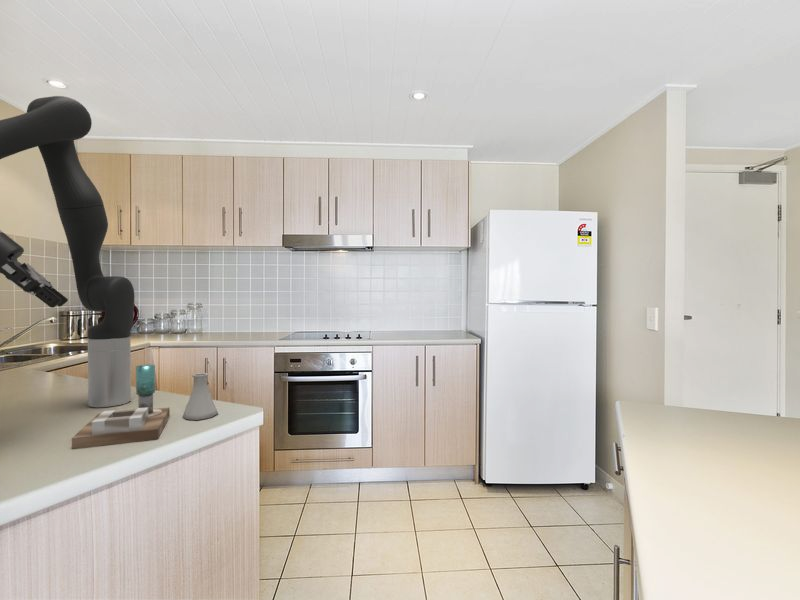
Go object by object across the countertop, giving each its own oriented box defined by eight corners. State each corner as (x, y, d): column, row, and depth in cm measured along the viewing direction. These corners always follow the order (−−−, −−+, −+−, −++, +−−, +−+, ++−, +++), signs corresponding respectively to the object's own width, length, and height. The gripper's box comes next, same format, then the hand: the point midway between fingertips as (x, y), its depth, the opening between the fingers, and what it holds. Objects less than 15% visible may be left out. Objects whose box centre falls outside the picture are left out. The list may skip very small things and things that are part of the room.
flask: (224, 414, 100) (223, 372, 100) (198, 422, 94) (198, 378, 94) (202, 410, 103) (202, 370, 103) (176, 418, 97) (175, 375, 97)
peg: (138, 411, 94) (137, 365, 94) (156, 410, 95) (156, 364, 95) (134, 416, 91) (134, 367, 90) (153, 414, 92) (153, 366, 92)
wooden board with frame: (98, 422, 93) (98, 402, 93) (169, 415, 99) (169, 396, 99) (71, 448, 78) (71, 424, 78) (158, 439, 83) (158, 416, 83)
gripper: (-9, 226, 75) (72, 291, 81) (11, 235, 87) (81, 291, 93) (-51, 254, 72) (37, 319, 78) (-24, 260, 84) (50, 315, 90)
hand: (61, 304), depth 85 cm, fingers open, 8 cm apart
